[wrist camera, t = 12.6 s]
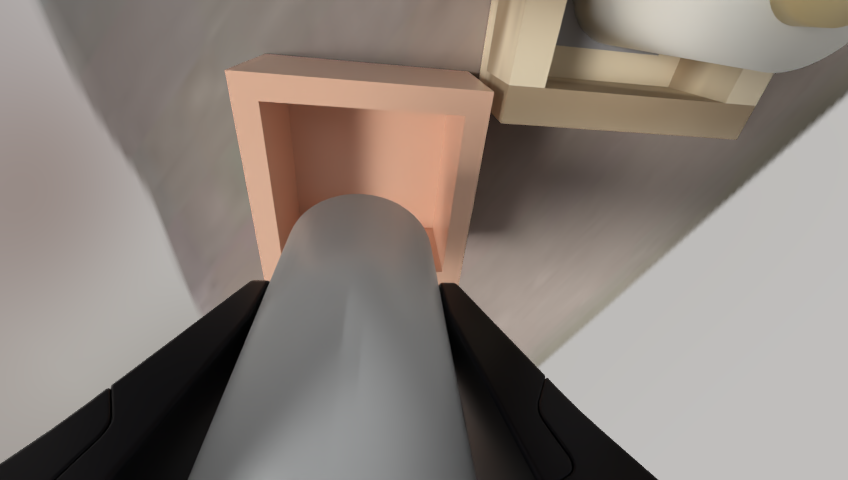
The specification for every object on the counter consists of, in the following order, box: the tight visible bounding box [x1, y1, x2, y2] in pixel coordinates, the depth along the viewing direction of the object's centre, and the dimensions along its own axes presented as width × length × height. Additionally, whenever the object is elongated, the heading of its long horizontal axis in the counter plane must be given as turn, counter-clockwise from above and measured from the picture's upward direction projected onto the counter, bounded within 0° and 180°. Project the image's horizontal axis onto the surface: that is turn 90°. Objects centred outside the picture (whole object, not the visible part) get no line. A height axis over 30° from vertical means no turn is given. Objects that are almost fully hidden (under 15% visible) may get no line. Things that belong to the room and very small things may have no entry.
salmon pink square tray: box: [225, 54, 494, 285], centre depth 15 cm, size 8×8×4 cm
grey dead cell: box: [188, 194, 477, 480], centre depth 7 cm, size 4×4×8 cm
